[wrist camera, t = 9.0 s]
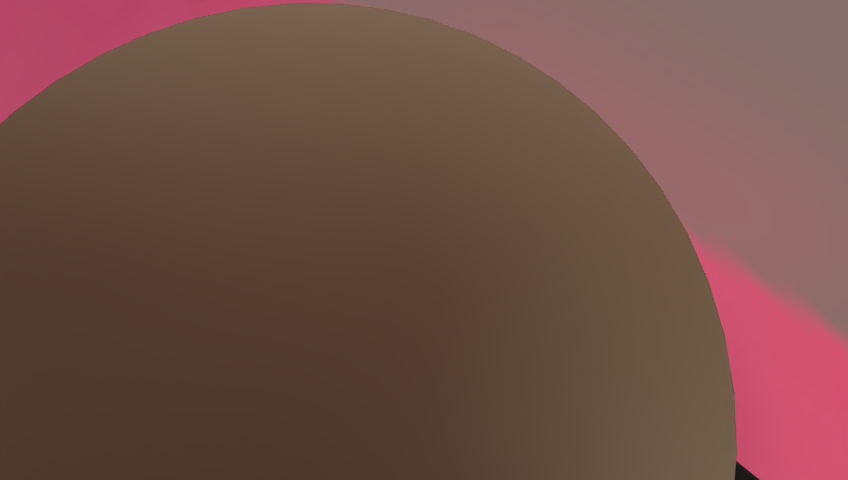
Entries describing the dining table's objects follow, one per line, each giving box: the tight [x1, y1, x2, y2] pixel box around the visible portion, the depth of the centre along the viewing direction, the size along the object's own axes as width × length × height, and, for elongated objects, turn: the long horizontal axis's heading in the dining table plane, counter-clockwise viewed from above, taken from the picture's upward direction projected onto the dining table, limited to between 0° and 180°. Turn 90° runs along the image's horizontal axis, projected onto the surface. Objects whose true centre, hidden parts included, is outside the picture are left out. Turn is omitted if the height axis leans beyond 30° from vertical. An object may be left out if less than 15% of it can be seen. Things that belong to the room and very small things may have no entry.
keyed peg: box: [0, 3, 737, 480], centre depth 9 cm, size 5×4×12 cm
